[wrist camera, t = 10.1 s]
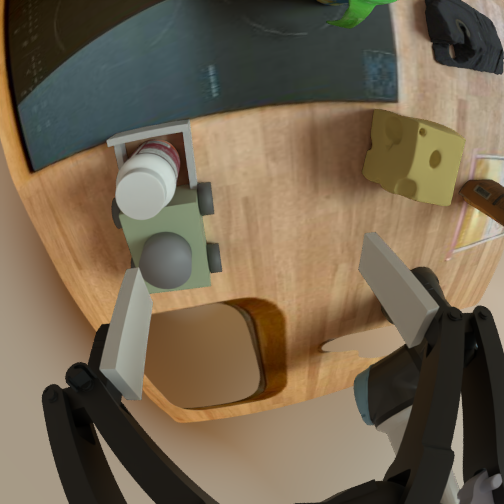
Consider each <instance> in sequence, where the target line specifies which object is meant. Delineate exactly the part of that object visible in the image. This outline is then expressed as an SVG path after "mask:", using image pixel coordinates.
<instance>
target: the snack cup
mask: <svg viewBox="0 0 504 504" xmlns="http://www.w3.org/2000/svg"><path fill="white" fill-rule="evenodd" d="M317 1H319V2H321V3H322V4H325V5H332V6H341V5H349V7H348V9H347V10H346V12H345V14H344V15H343V17H342V19H341V20H335V21H326V23H328V24H332V25H335V26H339V27H344V28H349V29H351V28H353V27H354V26H356V25H357V24H359V23H360V22H361V21H363V20H364V19H365V18H366V17H367V16H368V15H369V14H370V12H371V11H372V10H373V8H374V7H375V6H376V5H382V4H387V3H392V2H395V1H397V0H317Z"/></svg>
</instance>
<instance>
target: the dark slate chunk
mask: <svg viewBox="0 0 504 504" xmlns="http://www.w3.org/2000/svg"><path fill="white" fill-rule="evenodd" d="M425 2H426V11H425V14H426V21H427V26H428V32H429V36H430V38H431V42H433V49H434V50H435V55H436V60H437V61H438V62H439V63H440V64H443V65H444V64H446V65H447V66H454V67H458V68H467V69H468V68H469V69H473V70H477V71H481V72H483V71H485V72H490V73H495V74H497V75H498V74H500V75H501V74H502V73H503V64H504V62H503V59H504V52H503V48H502V45H501V42H500V39H499V38H498V35H497V32H496V29H495V26H494V25H493V22H492V21H491V20H490V19H489V18H488V17H486V16H485V15H483V14H481V13H479V12H478V11H477V10H475V9H474V8H472V7H471V6H469V5H468V4H466V3H465V2H463V1H461V0H425ZM434 43H435V44H434ZM449 44H450V45H452V44H453V47H454V51H455V56H456V57H455V58H454V59H452V58H451V56H450V54H449Z"/></svg>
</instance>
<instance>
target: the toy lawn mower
mask: <svg viewBox="0 0 504 504" xmlns="http://www.w3.org/2000/svg"><path fill="white" fill-rule="evenodd" d="M178 132H183V138H184V146H185V153H186V161H187V168H188V175H189V181H190V184H186V185H179V186H176V189H175V193H174V195H173V197H172V199H171V201H170V202H169V203H168V204H167V205H166V206H165V207H164V208H162V209H161V211H160V212H159V213H158V214H157V215H155V216H154V217H152V218H150V219H146V220H136V219H132V218H130V217H128V216H127V215H125V214H124V213H123V212H122V211H121V210H120V208H119V207H118V205H117V202H116V198H114V199H113V201H112V217H113V221H114V223H115V225H116V227H117V228H118V229H120V228H123V231H124V234H125V237H126V241H127V244H128V247H129V250H130V253H131V255H132V258H131V268H138V267H139V269H140V272H141V275H142V277H143V280H144V282H145V285H146V287H147V290H148V292H149V294H152V293H160V292H169V291H177V290H185V289H193V288H200V287H208V286H211V279H210V272H211V273H216V272H222V265H221V258H220V251H219V244H218V243H215V244H206V238H205V232H204V225H203V219H202V216H204V215H211V214H214V207H213V198H212V190H211V182H206V183H197V175H196V168H195V160H194V152H193V144H192V136H191V127H190V119H187V120H181V121H174V122H169V123H163V124H158V125H152V126H147V127H143V128H138V129H133V130H129V131H125V132H120V133H117V134H115V135H114V136H112V137H111V138H109V139H108V140H107V145H108V147H110V146H114V150H115V155H116V159H117V164H118V168H119V170H120V168H121V167H122V165H123V164H124V163H125V162H126V161H127V159H128V157H127V152H126V147H125V143H127V142H131V141H136V140H140V139H145V138H150V137H155V136H161V135H166V134H172V133H178Z"/></svg>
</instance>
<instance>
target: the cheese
mask: <svg viewBox="0 0 504 504" xmlns="http://www.w3.org/2000/svg"><path fill="white" fill-rule="evenodd" d="M371 140H372V148H371V150H368V151H367V154H366V158H365V163H364V166H363V169H362V174H363V175H364V177H365V178H367V179H368V180H369V181H372V182H375V183H379V184H381V187H382V188H383V189H385V190H386V191H388V192H390V193H393V194H399V195H402V196H404V197H407V198H409V199H412V200H415V201H419V202H424V203H430V204H435V205H440V206H449V205H450V204H451V200H452V196H453V191H454V186H455V182H456V178H457V173H458V169H459V165H460V161H461V157H462V153H463V149H464V145H465V141H466V140H465V138H463V137H462V136H461V135H459V134H458V133H457V132H455V131H454V130H452V129H450V128H448V127H446V126H444V125H441V124H438V123H435V122H432V121H428V120H424V119H417V118H410V117H405V116H401V115H398V114H396V113H393V112H390V111H386V110H381V109H374V113H373V120H372V128H371Z"/></svg>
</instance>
